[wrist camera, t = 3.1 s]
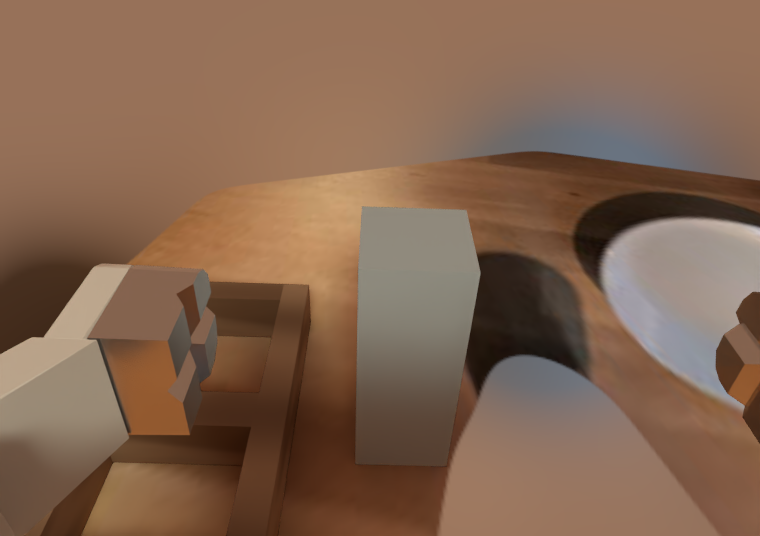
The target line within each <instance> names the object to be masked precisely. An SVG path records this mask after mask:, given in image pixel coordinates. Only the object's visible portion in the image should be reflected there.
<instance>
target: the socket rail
mask: <svg viewBox="0 0 760 536" xmlns="http://www.w3.org/2000/svg"><path fill="white" fill-rule="evenodd" d="M209 283H210V288H211V294H210V297H209V299H208V302H207V305H206V307H207V308H208V309H209V310H210V311H212V312H213V313H214V314H215V318H216V325H217V336H248V337H272V338H271V343H270V347H269V352H268V356H267V360H266V365H265V369H264V373H263V378H262V382H261V386H260V391H259V393H248V392H213V391H201V394H202V401H201V404H200V407H199V410H198V413H197V416H196V419H195V422H194V425H193V427H192V430H191V433H190V435H129V439H128V440H127V441H126V442H124V443H123V444H122V445H121V446H120V447H119V448H118V449H117V450H116V451H115V452H114V453H113V454H112V455H110V456H109V457H108V458H107V459H106V460H105V461H104V462H103V463H102V464H101V465H100V466H99V467H98V468H96V469H95V470H94V471H93V472H92V473H91V474H90V475H89V476H88V477H87V478H86V479H85V480H84V481H82V482H81V483H80V484H79V485H78V486H77V487H76V488H75V489H74V490H73V491H72V492H71V493H70V494H68V495H67V496H66V497H65V498H64V499H63V500H62V501H61V502H60V503H59V504H58V505H57V506H56V507H54V508H53V509H52V510H51V511H50V512H49V513H48V514H47V515H46V516H45V517H44V518H43V519H42V520H40V521H39V522H38V523H37V524H36V525H35V526H34V527H33V528H32V529H31V530H30V531H29V532H28V533H26V534H25V535H24V536H80V535H81V533H82V531H83V529H84V526H85V524H86V522H87V519H88V517H89V515H90V513H91V510H92V508H93V506H94V504H95V501H96V499H97V497H98V495H99V492H100V490H101V488H102V485H103V483H104V481H105V479H106V476H107V474H108V472H109V470H110V467H111V465H112V463H113V462H130V463H168V464H207V465H242V469H241V474H240V478H239V483H238V487H237V491H236V496H235V500H234V504H233V509H232V513H231V517H230V522H229V526H228V531H227V535H226V536H278V530H279V523H280V517H281V510H282V504H283V498H284V491H285V485H286V478H287V472H288V465H289V459H290V452H291V446H292V439H293V433H294V426H295V420H296V413H297V407H298V401H299V394H300V388H301V381H302V375H303V368H304V362H305V355H306V349H307V342H308V336H309V329H310V323H311V319H310V299H309V285H296V284H264V283H232V282H209Z"/></svg>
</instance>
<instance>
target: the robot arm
mask: <svg viewBox="0 0 760 536" xmlns="http://www.w3.org/2000/svg"><path fill="white" fill-rule="evenodd" d="M210 294H211V288H210V283H209V278H208V274H207V273H206V272H205V271H204V270H203V269H191V268H175V267H159V266H143V265H136V266H133V265H120V264H100V265H98V266H95V267H94V268H93V269H92V270H91V271H90V273H89V274H88V276H87V277H86V278H85V280H84V281H83V283H82V284H81V285H80V287H79V288H78V290H77V291H76V293H75V294H74V295H73V297H72V298H71V299H70V301H69V302H68V304H67V305H66V307H65V308H64V309H63V311H62V312H61V314H60V315H59V316H58V318H57V319H56V321H55V322H54V323H53V325H52V326H51V328H50V329H49V330H48V332H47V333H46V335H45V336H44V337H43V338H35V337H32V338H30V339H28V340H26V341H25V342H22V343H21V344H19V345H17V346H15V347H13V348H11V349H10V350H8V351H6V352H4V353H2V354H0V536H24V535H25V534H26V533H28V532H29V531H30V530H31V529H32V528H33V527H34V526H35V525H36V524H37V523H38V522H39V521H40V520H42V519H43V518H44V517H45V516H46V515H47V514H48V513H49V512H50V511H51V510H52V509H53V508H54V507H56V506H57V505H58V504H59V503H60V502H61V501H62V500H63V499H64V498H65V497H66V496H67V495H68V494H70V493H71V492H72V491H73V490H74V489H75V488H76V487H77V486H78V485H79V484H80V483H81V482H82V481H84V480H85V479H86V478H87V477H88V476H89V475H90V474H91V473H92V472H93V471H94V470H95V469H96V468H98V467H99V466H100V465H101V464H102V463H103V462H104V461H105V460H106V459H107V458H108V457H109V456H110V455H112V454H113V453H114V452H115V451H116V450H117V449H118V448H119V447H120V446H121V445H122V444H123V443H124V442H126V441H127V440H128V439H129V435H190V433H191V430H192V427H193V425H194V422H195V419H196V416H197V413H198V410H199V407H200V404H201V401H202V394H201V388H200V383H201V382H202V381H203V380H205V379H206V378H207V377H208V376H210V374H211V371H212V367H213V364H214V361H215V354H216V347H217V325H216V318H215V314H214V313H213V312H212V311H210V310H209V309H208V308H207V307H206V305H207V302H208V299H209V297H210ZM736 314H737V317H738V320H739V323H740V324H739V325H737V326H736V327H734V328H733V329H731V330H730V331H728V332H727V333H725V334H724V336H723V338H722V340H721V342H720V344H719V346H718V348H717V350H716V371H717V374H718V377H719V381H720V382H721V384H722V386H723V387H724V389H725V390H726V392H727V394H729V395H730V396H732V397H733V398H735V399H736V400H737V401H739V402H740V403H742V404H743V405H745V408H744V412H743V419H744V420H745V422H746V423H747V425H748V426H749V428H750V429H751V431H752V432H753V434H754V436H755V437H756V439H757V440H758V442H759V443H760V292H752V293H751V294H750V295H749V296H747V297H746V298H745V299H743V301H742V303H741V305H740V306H739V308H738V310H737V312H736Z"/></svg>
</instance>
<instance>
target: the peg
mask: <svg viewBox="0 0 760 536" xmlns="http://www.w3.org/2000/svg"><path fill="white" fill-rule="evenodd" d="M479 278H480V268H479V264H478V260H477V255H476V251H475V246H474V242H473V237H472V233H471V229H470V224H469V220H468V215H467V211H466V210H453V209H423V208H393V207H363V206H362V215H361V232H360V248H359V264H358V315H357V380H356V445H355V464H370V465H409V466H446V465H447V460H448V454H449V448H450V443H451V437H452V431H453V426H454V420H455V414H456V409H457V403H458V397H459V392H460V386H461V380H462V375H463V369H464V363H465V358H466V352H467V346H468V341H469V335H470V329H471V324H472V318H473V312H474V307H475V301H476V295H477V290H478V284H479Z"/></svg>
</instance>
